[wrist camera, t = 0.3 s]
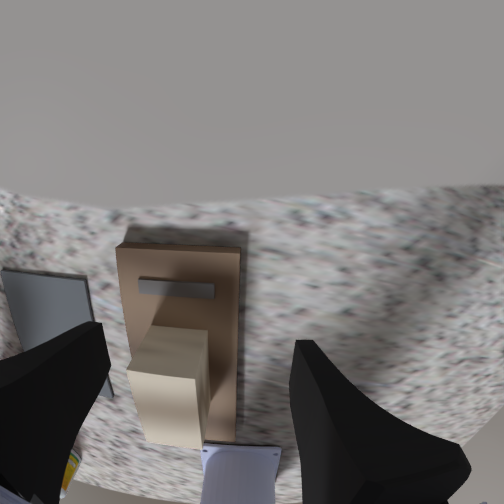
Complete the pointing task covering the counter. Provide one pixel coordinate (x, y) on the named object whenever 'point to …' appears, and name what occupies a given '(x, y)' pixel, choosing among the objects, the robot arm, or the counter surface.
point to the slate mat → (47, 308)
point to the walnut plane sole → (188, 310)
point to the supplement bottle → (70, 472)
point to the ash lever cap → (172, 386)
